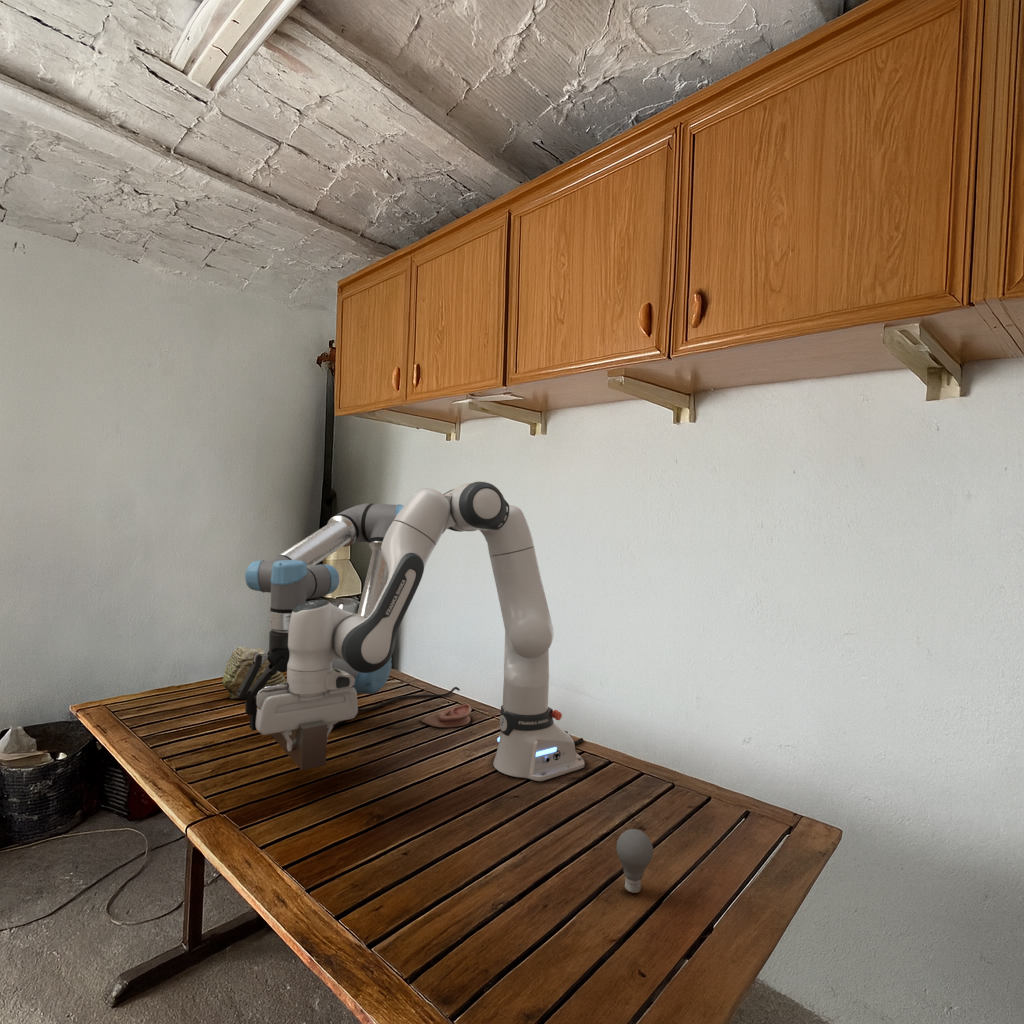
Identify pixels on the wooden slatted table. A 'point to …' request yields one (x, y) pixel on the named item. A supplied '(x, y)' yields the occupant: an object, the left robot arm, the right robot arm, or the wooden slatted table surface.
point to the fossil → (246, 670)
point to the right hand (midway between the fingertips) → (307, 746)
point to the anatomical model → (450, 717)
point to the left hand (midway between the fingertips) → (284, 723)
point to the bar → (307, 744)
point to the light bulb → (634, 857)
